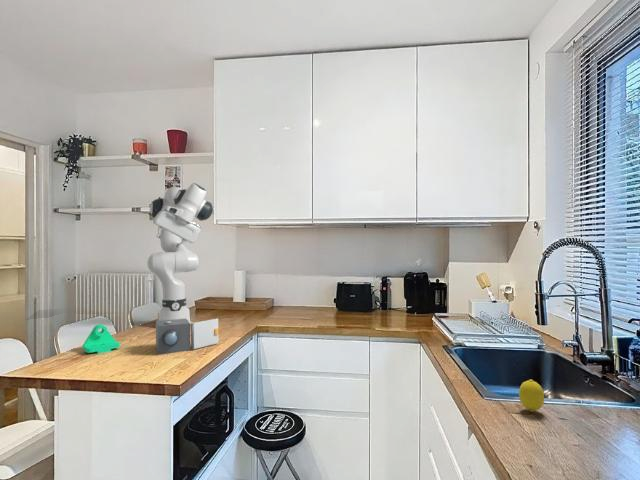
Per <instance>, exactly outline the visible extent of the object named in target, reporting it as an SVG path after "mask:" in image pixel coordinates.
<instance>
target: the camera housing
mask: <svg viewBox="0 0 640 480" xmlns="http://www.w3.org/2000/svg"><path fill="white" fill-rule="evenodd" d="M155 325H156V327H155V350H156V352H157V355H164V354H172V353H180V352H181V353H182V352H191V325H190V323H189V321H188V320H187V319H186V318H184V319H173V320H162V321H158V320H155Z"/></svg>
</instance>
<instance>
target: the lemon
mask: <svg viewBox="0 0 640 480" xmlns="http://www.w3.org/2000/svg"><path fill="white" fill-rule="evenodd" d="M518 398H519V401H520V403H521V404H522V406H523V407H524V408H525V409H527V410H528V411H529V412H531V413H533V412H535V411H538V410H540V409H541V408H542V407H543V405H544V403H545V394H544V390H543V388H542V386H541V385H540V384H539V383H538V382H537V381H534V380H533V379H528V380H526V381H523V382H522V383H521V385H520V387H519V391H518Z"/></svg>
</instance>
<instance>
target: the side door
mask: <svg viewBox="0 0 640 480" xmlns="http://www.w3.org/2000/svg"><path fill="white" fill-rule="evenodd" d="M219 334H220V333H219V318H212V319H207V320H201V321H195V322H193V323H191V325H190V350H195V349H199V348H203V347H209V346H212V345H216V344H219V343H220V341H219Z"/></svg>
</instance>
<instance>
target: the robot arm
mask: <svg viewBox="0 0 640 480" xmlns="http://www.w3.org/2000/svg"><path fill="white" fill-rule="evenodd" d="M207 193H208V192H207V190H206V189H205V188H204V187H202V186H201V185H199V184H198V183H195V182H192V183H191V184H190V185H189V187H187V188H182V187H180V186H172V187H170V188H167V189H166V190H165V192H164V197H162V198H161V196H159V197H158V198H156V199H154V200H153V201H151V203H150V205H149V213H150V216H151V217H152V218H153V219H152V221H153V224H154V225H156V226H158V228H157V234H156V238H159V242H160V247H161V249H162V252H156V253H152V254H150V256H149V257H148V259H147V263H146V265H147V268H148V269H149V270H150V272H151V273H153V274H154V275H155V276H156V277H157V278H158V279H159V280H160V283H161V286H162V299H161V300H162V301H161V309H160V310H159V312H158V314H157V318H158V320H157V321H162V320H173V319H184V318H186V319H187V320H188V321H189V323H190V326H191V323H194V322H193V321H191V319H190V309H189V308H188V307H187V298H186V285H185V283H184V281H182V280H181V279H178V278H176V277H174V275H173V274H177V273H190V272H193V271H196V270H197V269H198V268H199V265H200V257H199V256H198V255H197V254H196V252H194V251H191V250H189V249H188V248H187V247H186V246H185V245H184V244H186V242H188V243H189V244H194V243H196V240H197V237H198V235H199V234H200V233H201V230H202V227H201V226H200V224H199V223H196V222H194V219H195V218H196V219H197V220H199V221H201V222H202V221H206V220H208V219H209V218H210V217H211V216H212V214H213V211H214V209H213V208H214V207H213V204H212V202H210V201H208V200H206V199H205V198H206V195H207ZM154 328H156V324H155V327H154Z"/></svg>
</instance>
